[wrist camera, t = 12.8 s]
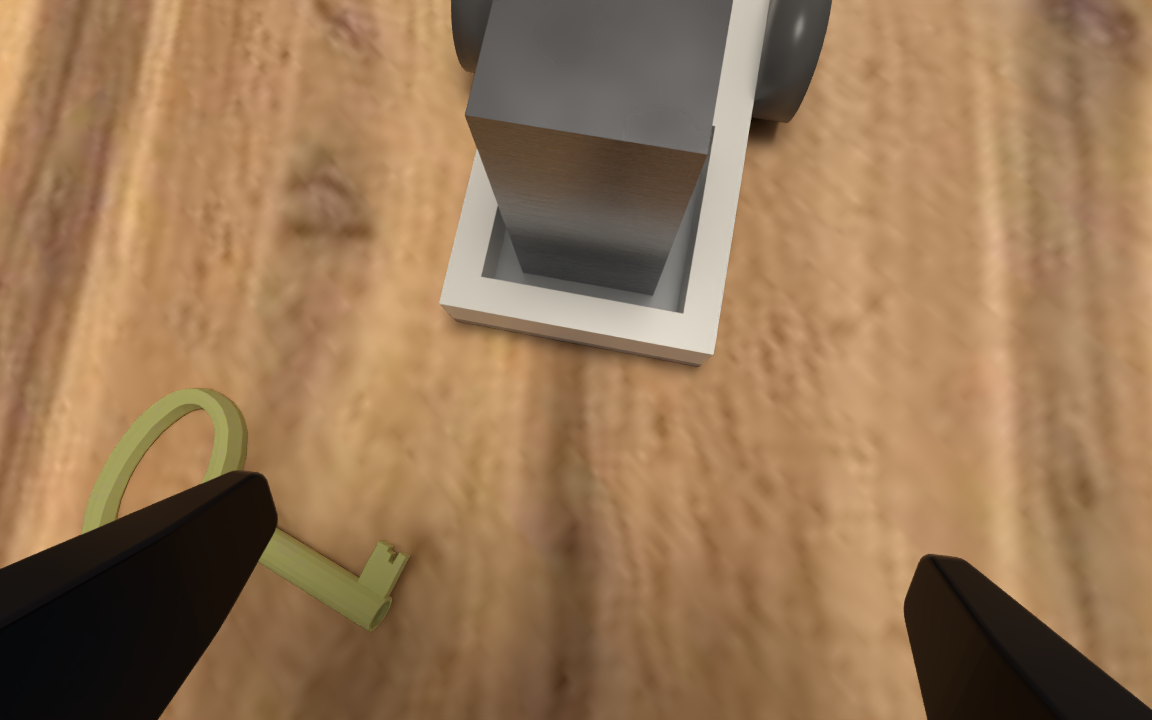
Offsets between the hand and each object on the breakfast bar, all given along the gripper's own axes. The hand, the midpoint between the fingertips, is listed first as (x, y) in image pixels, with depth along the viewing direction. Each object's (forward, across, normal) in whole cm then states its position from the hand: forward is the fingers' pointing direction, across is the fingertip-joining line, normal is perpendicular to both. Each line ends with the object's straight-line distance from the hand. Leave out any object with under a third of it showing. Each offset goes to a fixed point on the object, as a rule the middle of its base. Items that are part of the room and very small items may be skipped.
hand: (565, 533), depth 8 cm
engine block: (+16, +2, -1) cm, 16 cm away
